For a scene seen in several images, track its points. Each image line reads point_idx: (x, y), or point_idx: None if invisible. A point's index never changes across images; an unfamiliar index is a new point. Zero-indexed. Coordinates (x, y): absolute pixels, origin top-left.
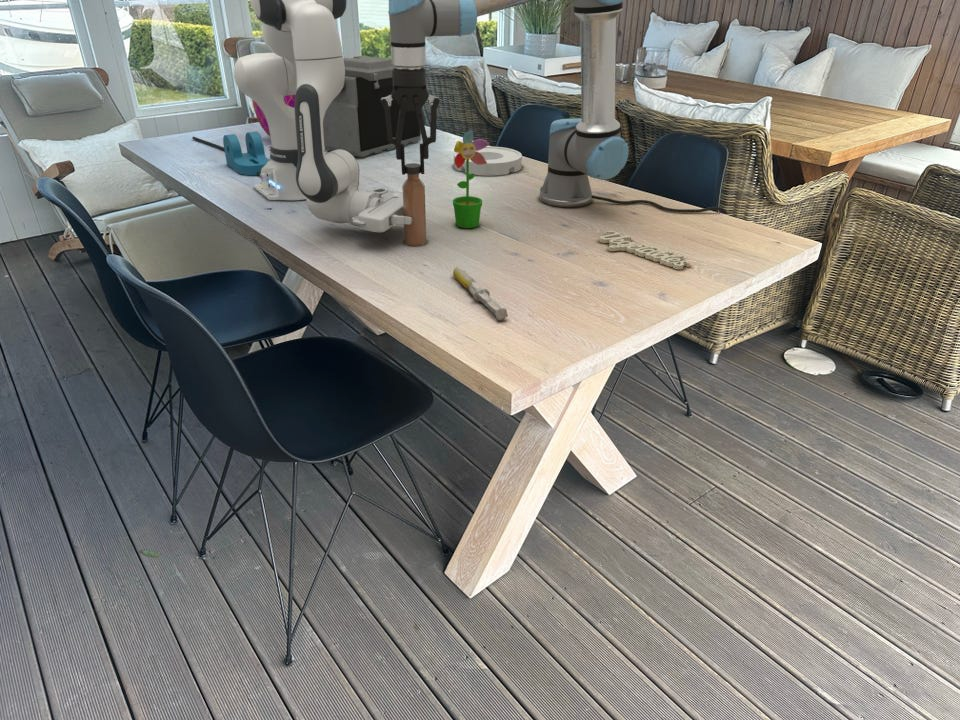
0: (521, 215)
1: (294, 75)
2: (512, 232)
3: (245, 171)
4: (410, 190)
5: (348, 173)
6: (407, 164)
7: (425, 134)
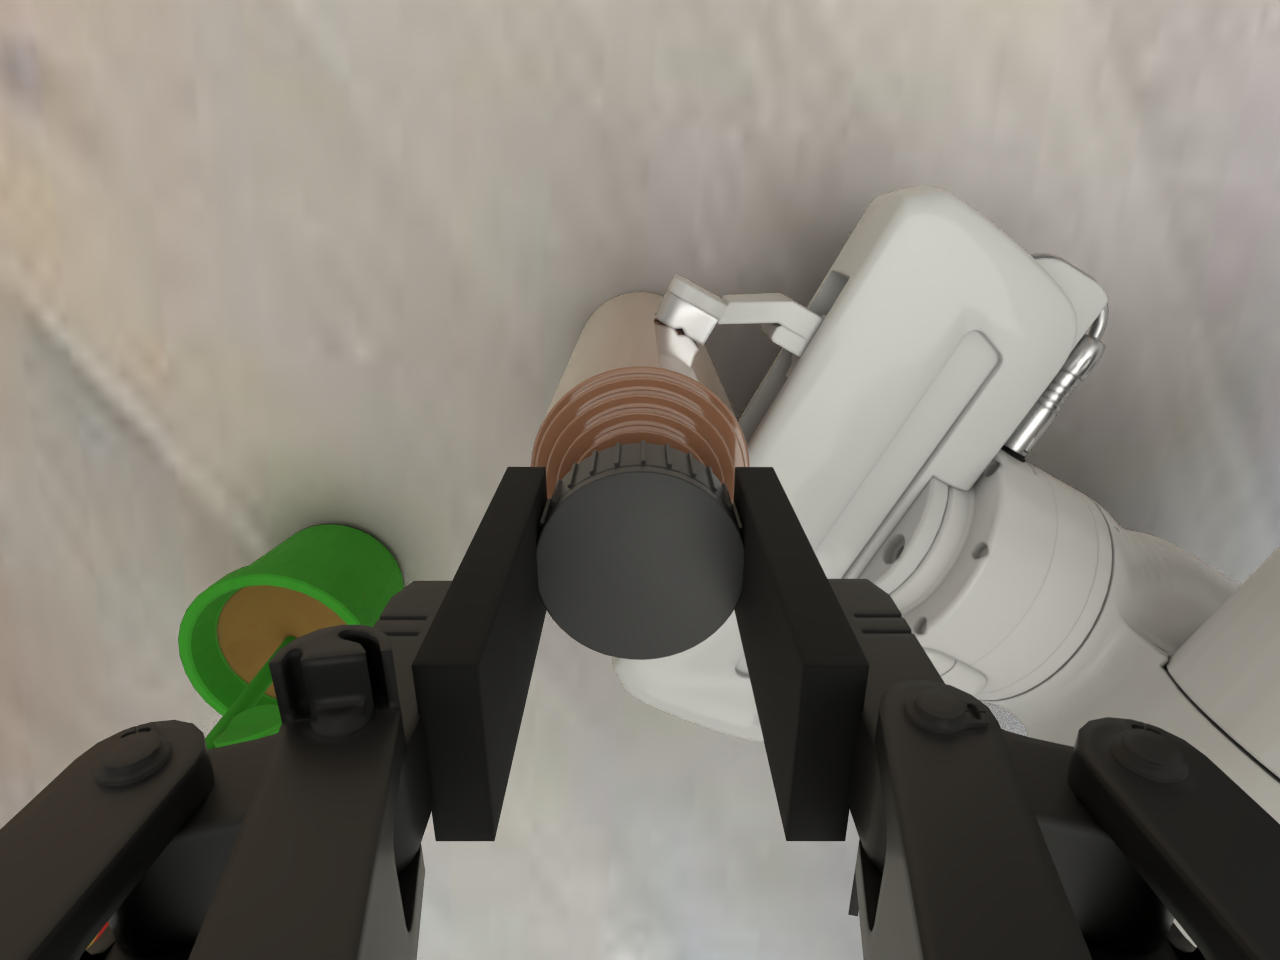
0: (56, 690)
1: None
2: (78, 451)
3: None
4: (676, 369)
5: (1255, 711)
6: (703, 616)
7: (254, 877)
